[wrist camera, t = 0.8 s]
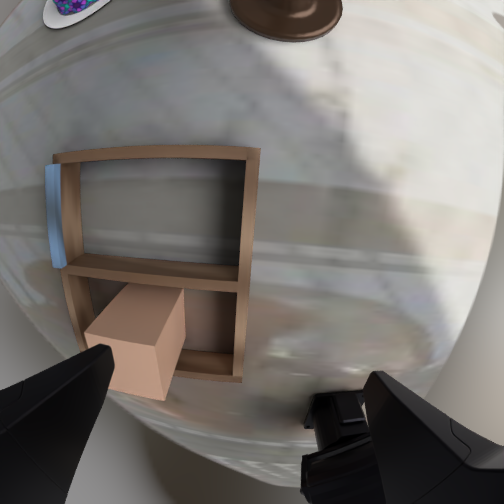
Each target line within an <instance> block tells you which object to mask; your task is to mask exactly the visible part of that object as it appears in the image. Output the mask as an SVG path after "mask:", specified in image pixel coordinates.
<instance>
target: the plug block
mask: <svg viewBox="0 0 504 504" xmlns="http://www.w3.org/2000/svg"><path fill="white" fill-rule="evenodd" d="M84 334H85V338H86V341H87V345H88V348H91V347H93V346H95V345H97V344H99V343H102V344H105V345H109V346H110V347H111V349H112V353H113V358H114V362H115V369H114V372H113V375H112V378H111V381H110V384H109V387H108V389H112V390H116V391H120V392H124V393H128V394H132V395H137V396H141V397H146V398H151V399H157V400H162V401H165V398H166V395H167V392H168V389H169V386H170V382H171V379H172V376H173V373H174V370H175V367H176V364H177V361H178V358H179V355H180V352H181V349H182V346H183V343H184V340H185V338H186V333H185V314H184V288H177V287H167V286H158V285H148V284H139V283H131V282H128V284H127V285H126V286H125V287H124V288H123V289H122V290H121V291H120V292H119V293H118V294H117V295H116V297H115V298H114V299H113V300H112V301H111V302H110V303H109V304H108V305H107V307H106V308H105V309H104V310H103V311H102V312H101V313H100V314H99V316H98V317H97V318H96V319H95V320H94V321H93V322H92V324H91V325H90V326H89V327H88V328H87V329H86V331H85V332H84Z"/></svg>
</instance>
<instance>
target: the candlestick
mask: <svg viewBox="0 0 504 504" xmlns="http://www.w3.org/2000/svg"><path fill="white" fill-rule="evenodd" d="M230 6H231V10H232V12H233V14H234V16H235V18H236V19H237V20H238V21H239V22H240V23H241V24H242V25H243V26H245V27H246V28H247V29H249V30H250V31H252V32H254V33H256V34H258V35H260V36H263V37H266V38H269V39H273V40H278V41H284V42H305V41H310V40H315V39H317V38H320V37H323V36H324V35H326V34H328V33H329V32H330V31H331V30H332V29H333V28H334V27H335V26H336V25H337V23H338V21H339V20H340V18H341V16H342V10H343V7H342V1H341V0H230Z"/></svg>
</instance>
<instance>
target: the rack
mask: <svg viewBox="0 0 504 504" xmlns="http://www.w3.org/2000/svg"><path fill="white" fill-rule="evenodd" d="M260 150H261V148H251V147H236V146H214V145H149V146H128V147H113V148H101V149H91V150H82V151H73V152H66V153H59V154H53V164H52V165H45V192H46V213H47V225H48V235H49V244H50V251H51V258H52V264H53V267H54V268H60V272H61V277H62V283H63V288H64V293H65V297H66V302H67V306H68V310H69V314H70V318H71V322H72V326H73V329H74V333H75V336H76V339H77V343H78V346H79V349H80V352H83V351H85V350H87V349H89V348H88V345H87V341H86V338H85V334H84V332H85V331H86V329H87V328H88V327H89V326H90V325H91V324H92V322H93V321H94V320H95V315H94V311H93V306H92V301H91V295H90V290H89V284H88V278H87V277H91V278H99V279H106V280H114V281H122V282H131V283H139V284H148V285H158V286H167V287H177V288H188V289H199V290H211V291H224V292H237V307H236V324H235V342H234V354H225V353H213V352H203V351H194V350H185V349H181V352H180V355H179V358H178V361H177V364H176V367H175V370H174V373H173V376H178V377H185V378H193V379H201V380H211V381H222V382H235V383H242V374H243V362H244V349H245V337H246V324H247V312H248V300H249V287H250V275H251V262H252V250H253V237H254V225H255V212H256V200H257V187H258V175H259V163H260ZM149 158H192V159H222V160H240V161H246V173H245V186H244V200H243V214H242V228H241V243H240V258H239V266H232V265H218V264H205V263H192V262H179V261H167V260H155V259H143V258H131V257H120V256H109V255H98V254H87V253H84V247H83V236H82V223H81V203H80V162H90V161H103V160H120V159H149Z"/></svg>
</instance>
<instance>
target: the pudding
mask: <svg viewBox="0 0 504 504" xmlns="http://www.w3.org/2000/svg"><path fill="white" fill-rule="evenodd" d="M95 1H98V0H47V3H46V5H45V8H44V11H43V21H44V23H45V25H47V26H48V27H50V28H63V27H67V26H69V25H72V24H74V23H76V22H78V21H80V20H82V19H84V18H86V17H87V16H89V15H91V14H92V13H94V12H95V11H97V10H98V9H99V8H101V7H102V6H103V5H105V4H106V3H107V2H109V1H110V0H99V1H98V2H97V3H95V4H94V5H92V6H91V7H89V8H87V7H88V6H89V5H90V4H91V3H92V2H95ZM57 8H58V9H59V11H60V12H61V13H62V14H68V13H70V12H71V11H73V12H74V13H77V12H79V13H77V14H74V15H70V16H64V15H61V14H59V12H58V10H57ZM86 8H87V9H86ZM84 9H85V10H84ZM82 10H83V11H82ZM80 11H81V12H80Z"/></svg>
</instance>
